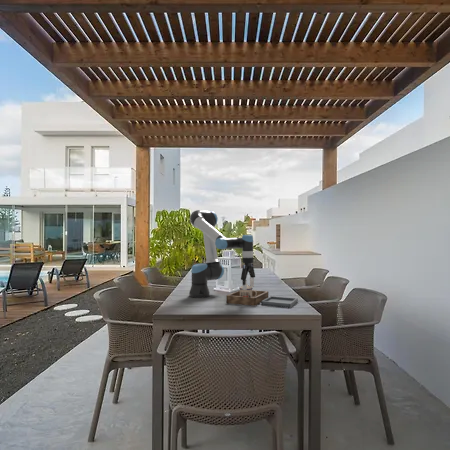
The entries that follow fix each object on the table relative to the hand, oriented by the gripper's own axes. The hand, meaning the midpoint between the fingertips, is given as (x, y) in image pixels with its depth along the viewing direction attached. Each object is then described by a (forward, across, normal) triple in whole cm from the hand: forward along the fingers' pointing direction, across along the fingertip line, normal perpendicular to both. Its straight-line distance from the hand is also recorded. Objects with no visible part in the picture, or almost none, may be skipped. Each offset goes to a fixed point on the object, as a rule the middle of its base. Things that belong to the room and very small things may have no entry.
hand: (248, 288), depth 235 cm
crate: (+8, 0, 0) cm, 9 cm away
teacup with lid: (+9, 0, 0) cm, 9 cm away
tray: (+9, 0, -22) cm, 24 cm away
